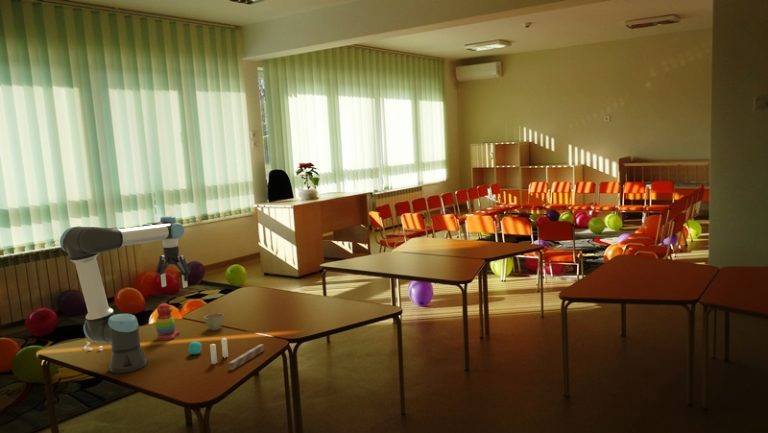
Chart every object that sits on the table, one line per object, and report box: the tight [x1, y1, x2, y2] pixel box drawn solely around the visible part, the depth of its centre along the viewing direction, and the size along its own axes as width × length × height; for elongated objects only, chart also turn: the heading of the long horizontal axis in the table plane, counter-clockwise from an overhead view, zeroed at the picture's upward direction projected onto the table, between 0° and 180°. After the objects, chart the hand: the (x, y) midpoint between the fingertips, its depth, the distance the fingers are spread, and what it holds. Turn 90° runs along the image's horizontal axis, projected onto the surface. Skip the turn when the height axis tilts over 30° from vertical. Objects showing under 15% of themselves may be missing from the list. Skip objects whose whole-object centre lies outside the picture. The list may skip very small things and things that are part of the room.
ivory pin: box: [220, 337, 229, 359], centre depth 265 cm, size 2×2×8 cm
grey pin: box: [209, 343, 218, 365], centre depth 258 cm, size 2×2×8 cm
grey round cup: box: [204, 312, 225, 331], centre depth 310 cm, size 10×10×7 cm
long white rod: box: [227, 343, 265, 371], centre depth 260 cm, size 24×2×3 cm, turn 158°
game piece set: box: [82, 340, 104, 352], centre depth 295 cm, size 19×20×4 cm
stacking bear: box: [155, 302, 181, 341], centre depth 300 cm, size 11×10×18 cm
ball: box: [187, 340, 203, 355], centre depth 272 cm, size 6×6×6 cm
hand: (174, 286), depth 301 cm, fingers open, 13 cm apart
